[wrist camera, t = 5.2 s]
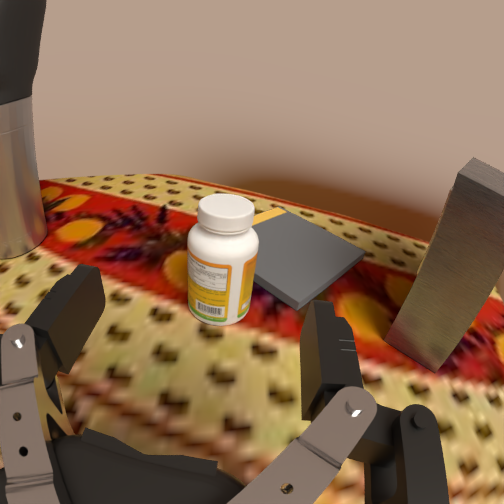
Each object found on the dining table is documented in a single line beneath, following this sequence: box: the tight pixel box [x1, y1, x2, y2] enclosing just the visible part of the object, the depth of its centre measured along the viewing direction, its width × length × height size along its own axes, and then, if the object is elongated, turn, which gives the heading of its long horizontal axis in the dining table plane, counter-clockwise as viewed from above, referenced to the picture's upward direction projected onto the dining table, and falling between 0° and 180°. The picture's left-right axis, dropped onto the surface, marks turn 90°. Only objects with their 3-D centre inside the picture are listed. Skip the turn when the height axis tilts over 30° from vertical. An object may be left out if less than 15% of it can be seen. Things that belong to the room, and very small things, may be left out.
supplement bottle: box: [188, 194, 259, 326], centre depth 25 cm, size 5×5×10 cm
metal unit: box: [384, 157, 504, 373], centre depth 26 cm, size 7×18×16 cm, turn 136°
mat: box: [252, 207, 366, 311], centre depth 36 cm, size 14×14×1 cm
